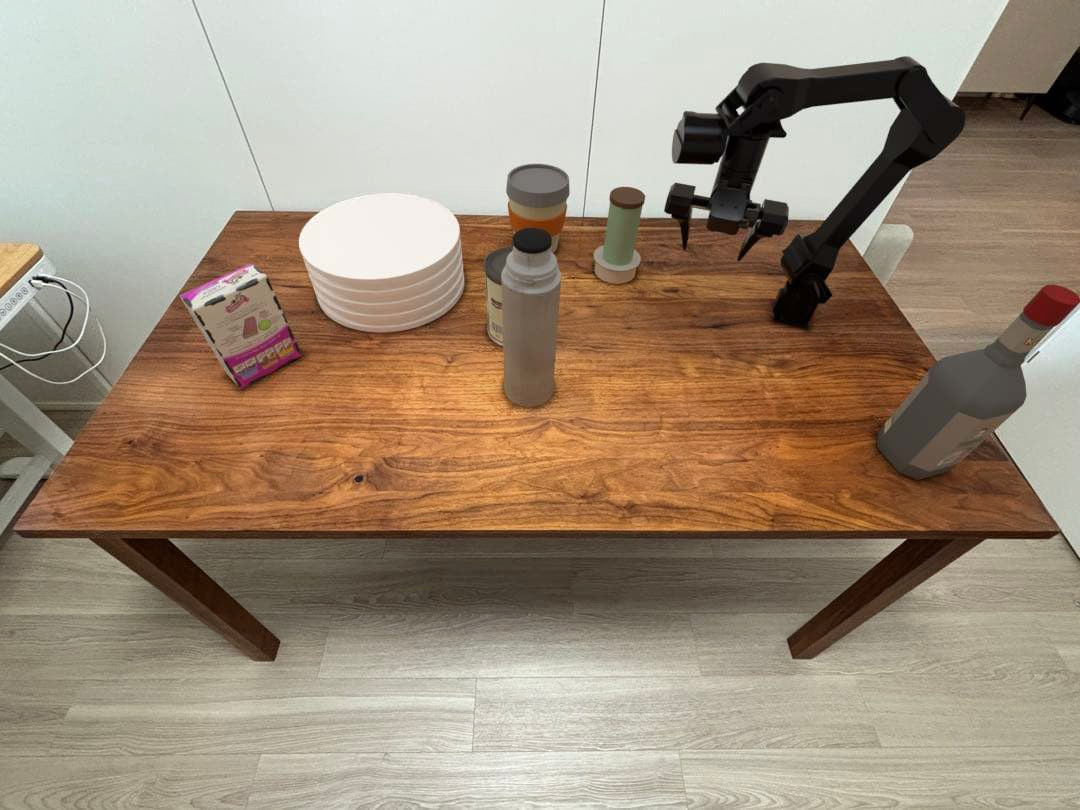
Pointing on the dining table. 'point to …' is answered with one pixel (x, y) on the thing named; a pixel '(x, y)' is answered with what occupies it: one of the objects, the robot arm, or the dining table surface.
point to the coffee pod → (615, 268)
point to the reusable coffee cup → (538, 199)
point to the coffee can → (495, 291)
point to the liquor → (969, 393)
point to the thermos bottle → (530, 317)
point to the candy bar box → (243, 324)
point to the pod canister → (622, 225)
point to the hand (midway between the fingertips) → (711, 254)
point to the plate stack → (384, 261)
